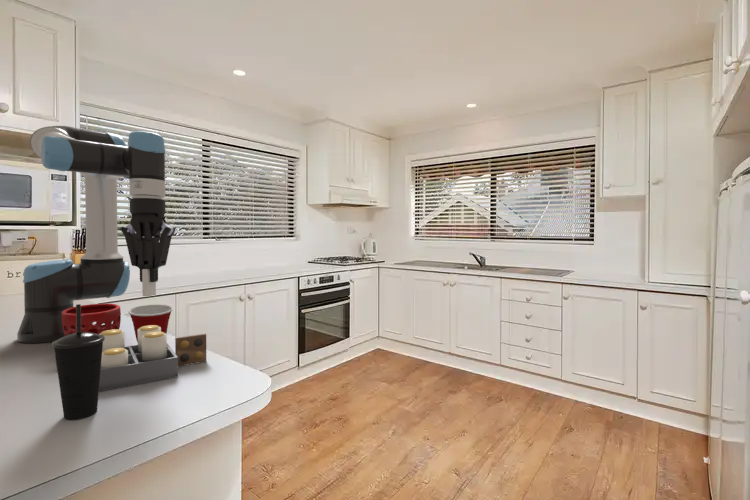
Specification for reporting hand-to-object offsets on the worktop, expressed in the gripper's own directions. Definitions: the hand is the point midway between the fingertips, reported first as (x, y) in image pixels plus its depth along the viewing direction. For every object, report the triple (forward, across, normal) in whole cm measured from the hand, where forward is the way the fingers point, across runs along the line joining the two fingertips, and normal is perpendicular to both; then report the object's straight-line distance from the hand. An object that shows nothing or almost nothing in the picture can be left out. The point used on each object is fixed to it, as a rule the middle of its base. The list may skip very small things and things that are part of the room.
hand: (149, 295), depth 97 cm
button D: (+13, +5, -5) cm, 15 cm away
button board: (+18, 0, -5) cm, 18 cm away
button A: (+13, -6, -5) cm, 15 cm away
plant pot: (+18, -24, +8) cm, 31 cm away
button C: (+16, 0, -11) cm, 19 cm away
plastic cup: (+18, -8, +11) cm, 22 cm away
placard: (+18, +8, +4) cm, 20 cm away
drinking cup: (+18, +5, -25) cm, 31 cm away
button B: (+13, 0, 0) cm, 13 cm away
